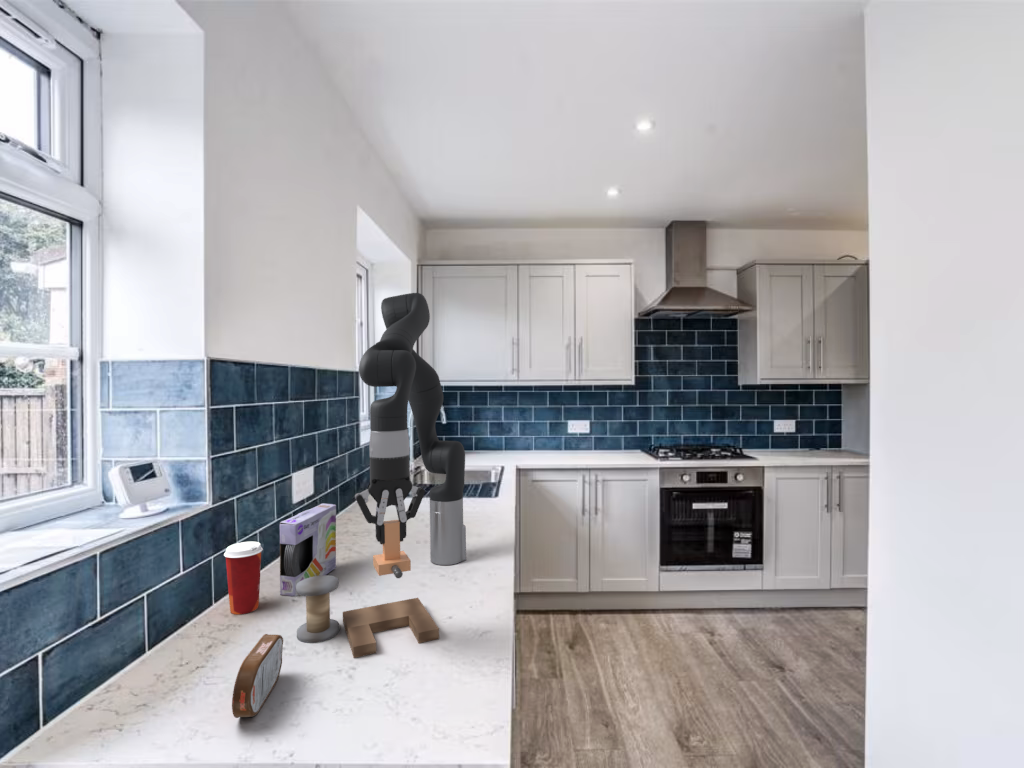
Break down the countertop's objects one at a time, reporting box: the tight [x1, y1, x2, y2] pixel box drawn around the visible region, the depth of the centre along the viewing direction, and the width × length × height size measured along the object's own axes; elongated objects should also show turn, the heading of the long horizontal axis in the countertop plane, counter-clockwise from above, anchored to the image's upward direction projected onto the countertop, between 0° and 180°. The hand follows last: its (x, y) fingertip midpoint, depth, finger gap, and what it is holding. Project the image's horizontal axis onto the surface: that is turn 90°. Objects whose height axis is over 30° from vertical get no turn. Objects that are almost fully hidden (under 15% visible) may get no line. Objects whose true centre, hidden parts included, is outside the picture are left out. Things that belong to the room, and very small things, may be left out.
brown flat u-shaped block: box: [342, 597, 440, 659], centre depth 105 cm, size 16×16×2 cm
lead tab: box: [372, 519, 412, 579], centre depth 99 cm, size 6×10×9 cm, turn 24°
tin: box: [231, 633, 284, 719], centre depth 82 cm, size 15×3×8 cm, turn 6°
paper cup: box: [223, 541, 264, 616], centre depth 115 cm, size 8×8×14 cm
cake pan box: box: [279, 503, 337, 597], centre depth 130 cm, size 19×5×18 cm, turn 168°
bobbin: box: [296, 574, 341, 644], centre depth 104 cm, size 8×8×10 cm
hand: (391, 541), depth 101 cm, fingers closed on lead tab, 3 cm apart
